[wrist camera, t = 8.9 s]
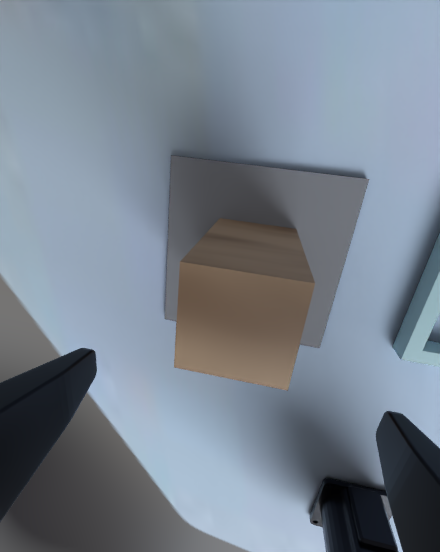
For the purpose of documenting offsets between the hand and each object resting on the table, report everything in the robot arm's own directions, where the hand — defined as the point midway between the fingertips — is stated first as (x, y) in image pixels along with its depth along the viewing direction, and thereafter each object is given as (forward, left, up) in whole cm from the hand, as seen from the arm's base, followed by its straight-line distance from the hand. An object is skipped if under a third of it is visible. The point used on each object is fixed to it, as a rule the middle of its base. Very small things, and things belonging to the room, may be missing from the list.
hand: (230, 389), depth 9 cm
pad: (0, 0, -12) cm, 12 cm away
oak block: (0, 0, -12) cm, 12 cm away
